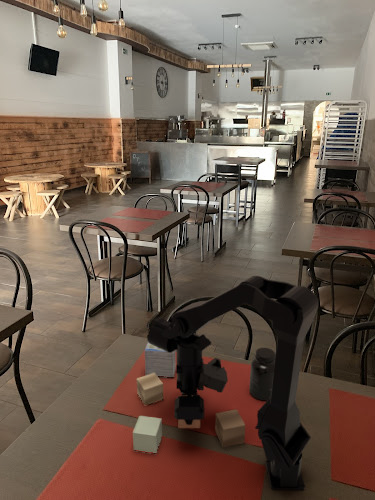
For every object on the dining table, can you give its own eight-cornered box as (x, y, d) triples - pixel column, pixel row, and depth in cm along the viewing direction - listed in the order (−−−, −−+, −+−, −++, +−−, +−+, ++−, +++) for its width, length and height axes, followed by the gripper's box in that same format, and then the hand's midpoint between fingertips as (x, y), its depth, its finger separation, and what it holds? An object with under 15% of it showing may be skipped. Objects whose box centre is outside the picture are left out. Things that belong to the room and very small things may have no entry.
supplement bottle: (278, 401, 98) (282, 360, 95) (251, 401, 99) (253, 360, 95) (273, 384, 105) (276, 345, 101) (247, 383, 105) (249, 344, 101)
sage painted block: (156, 454, 83) (155, 435, 81) (133, 451, 84) (132, 432, 82) (162, 436, 88) (161, 418, 86) (140, 433, 89) (139, 415, 87)
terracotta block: (200, 428, 90) (200, 410, 88) (178, 428, 90) (178, 410, 88) (199, 412, 95) (199, 395, 93) (178, 412, 95) (178, 395, 93)
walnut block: (244, 443, 86) (245, 425, 84) (222, 448, 85) (223, 429, 83) (235, 426, 90) (236, 409, 89) (215, 431, 89) (215, 413, 88)
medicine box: (175, 369, 111) (175, 342, 108) (173, 378, 107) (173, 351, 104) (148, 367, 112) (147, 340, 109) (145, 377, 108) (144, 349, 105)
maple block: (163, 399, 99) (162, 383, 98) (145, 406, 97) (144, 389, 95) (155, 388, 103) (154, 372, 102) (137, 394, 101) (136, 378, 99)
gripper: (229, 386, 78) (227, 447, 83) (222, 336, 96) (220, 389, 101) (174, 386, 78) (174, 447, 83) (176, 336, 96) (177, 389, 101)
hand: (189, 415), depth 92 cm, fingers closed on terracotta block, 5 cm apart
